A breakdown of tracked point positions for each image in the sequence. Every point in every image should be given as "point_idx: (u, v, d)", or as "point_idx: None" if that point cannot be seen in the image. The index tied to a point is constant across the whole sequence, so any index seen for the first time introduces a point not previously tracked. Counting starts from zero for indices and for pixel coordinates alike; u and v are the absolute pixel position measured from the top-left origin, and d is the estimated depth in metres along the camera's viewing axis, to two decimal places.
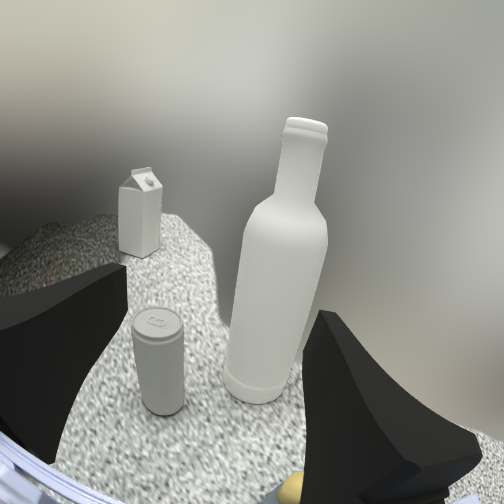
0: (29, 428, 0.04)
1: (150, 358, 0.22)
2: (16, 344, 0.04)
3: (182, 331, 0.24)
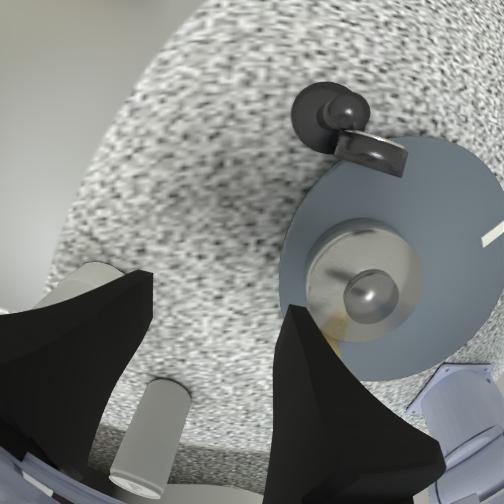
0: (61, 448, 0.04)
1: (168, 474, 0.18)
2: (50, 363, 0.04)
3: (131, 474, 0.15)
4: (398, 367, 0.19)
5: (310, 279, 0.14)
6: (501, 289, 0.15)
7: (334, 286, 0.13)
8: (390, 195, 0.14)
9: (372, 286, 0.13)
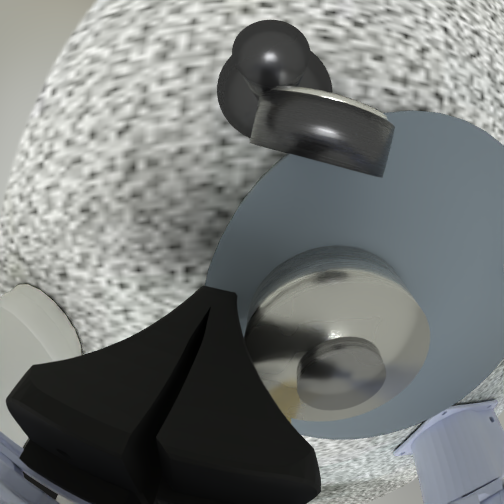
0: (155, 488, 0.04)
1: None
2: (160, 409, 0.04)
3: None
4: (379, 425, 0.14)
5: None
6: None
7: (281, 360, 0.08)
8: (368, 205, 0.09)
9: (341, 366, 0.07)
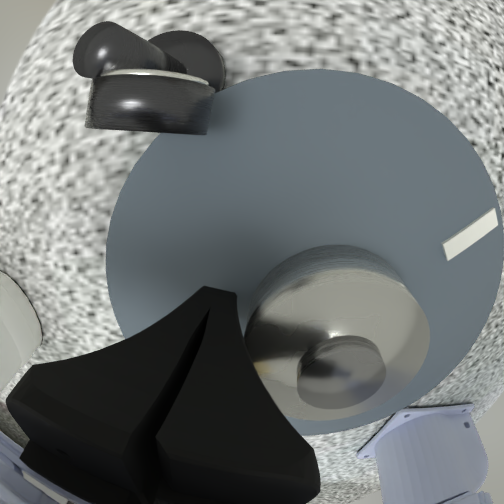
0: (155, 488, 0.04)
1: None
2: (160, 409, 0.04)
3: None
4: (315, 423, 0.14)
5: None
6: (482, 323, 0.10)
7: (281, 359, 0.08)
8: (240, 174, 0.09)
9: (341, 365, 0.07)
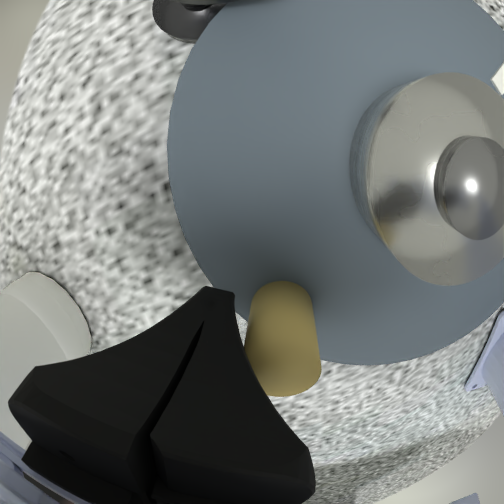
0: None
1: None
2: (163, 409, 0.04)
3: None
4: (437, 330, 0.11)
5: (371, 176, 0.07)
6: None
7: (416, 179, 0.06)
8: (303, 32, 0.07)
9: (477, 159, 0.05)
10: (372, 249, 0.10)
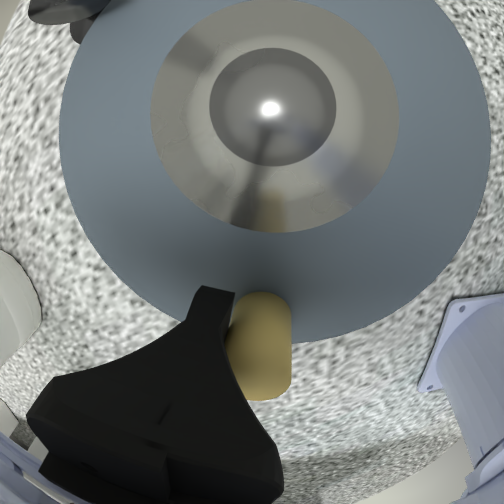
0: None
1: None
2: None
3: None
4: (435, 237, 0.10)
5: None
6: None
7: (216, 161, 0.07)
8: (106, 120, 0.09)
9: (235, 92, 0.06)
10: None
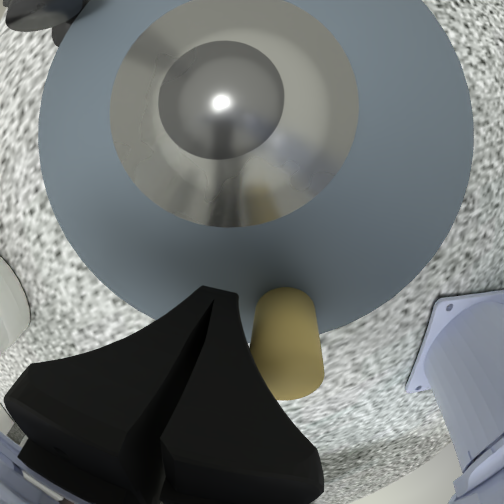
0: (153, 488, 0.04)
1: None
2: (157, 408, 0.04)
3: None
4: (437, 185, 0.09)
5: (166, 208, 0.07)
6: None
7: (185, 169, 0.07)
8: (84, 163, 0.10)
9: (180, 97, 0.05)
10: None
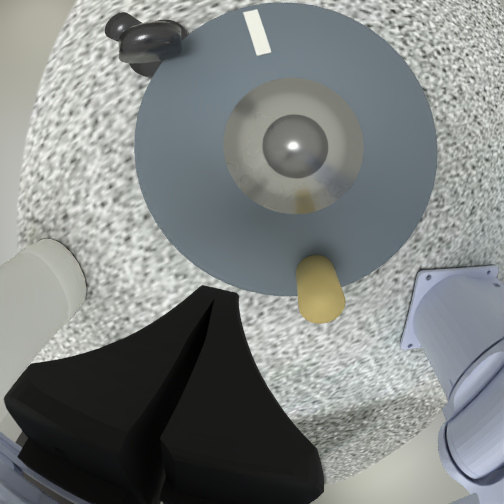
0: (153, 488, 0.04)
1: None
2: (157, 408, 0.04)
3: None
4: (411, 190, 0.15)
5: (257, 202, 0.13)
6: (351, 21, 0.11)
7: (271, 181, 0.13)
8: (179, 169, 0.15)
9: (275, 143, 0.11)
10: None
